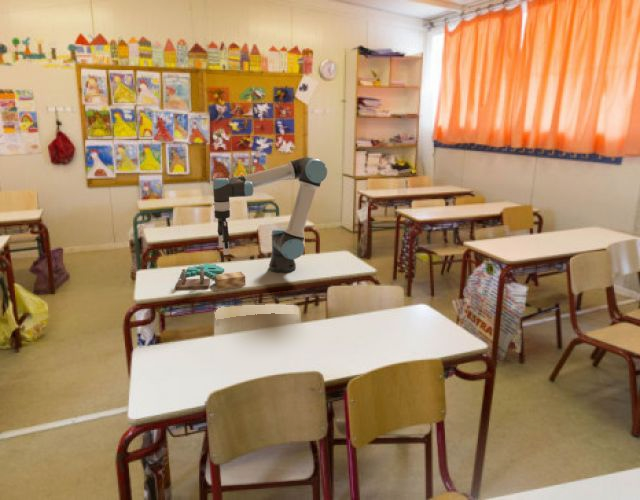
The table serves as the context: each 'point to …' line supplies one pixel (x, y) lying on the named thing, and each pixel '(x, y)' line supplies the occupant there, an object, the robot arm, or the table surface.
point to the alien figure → (208, 270)
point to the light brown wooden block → (229, 279)
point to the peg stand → (192, 282)
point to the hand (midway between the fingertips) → (224, 250)
